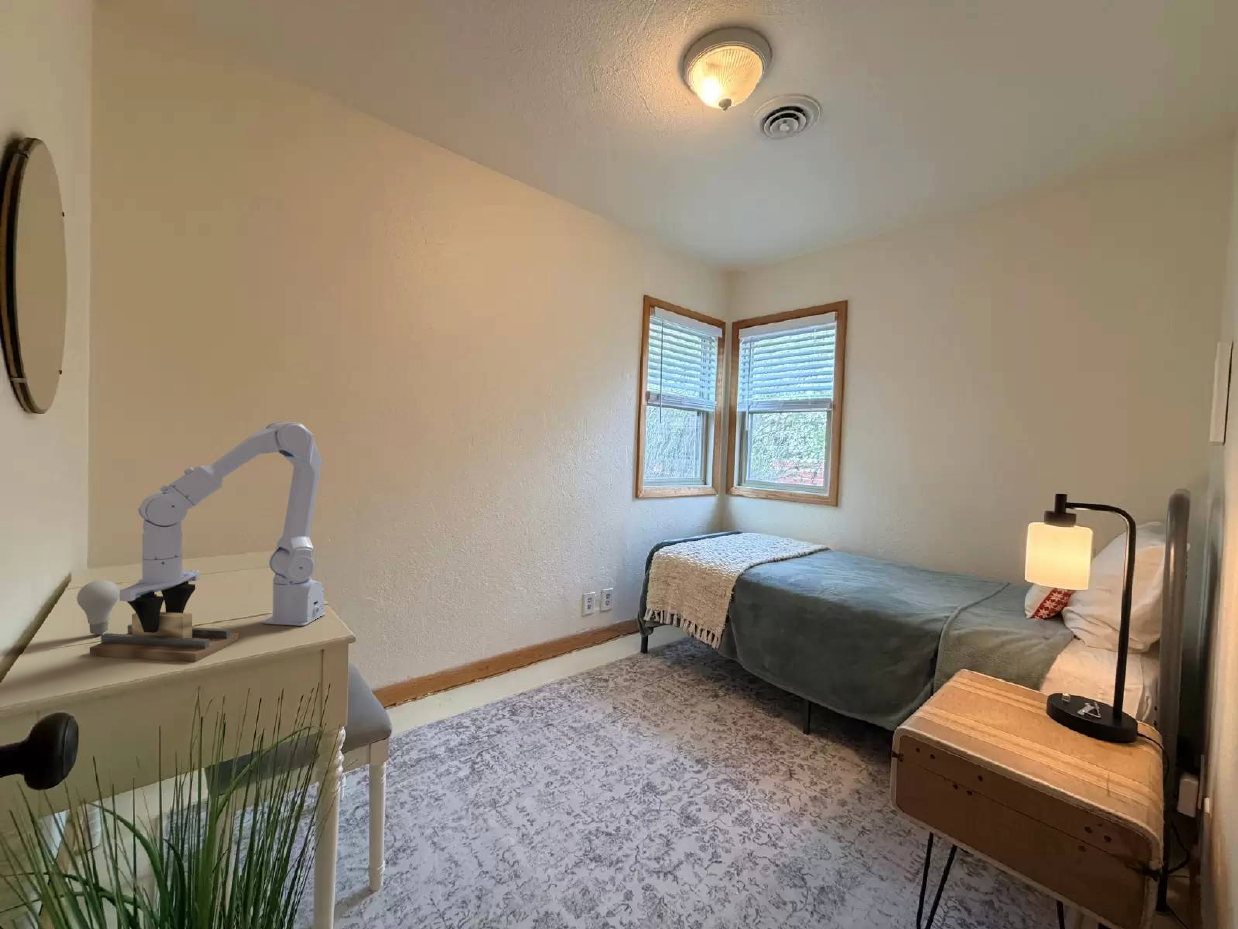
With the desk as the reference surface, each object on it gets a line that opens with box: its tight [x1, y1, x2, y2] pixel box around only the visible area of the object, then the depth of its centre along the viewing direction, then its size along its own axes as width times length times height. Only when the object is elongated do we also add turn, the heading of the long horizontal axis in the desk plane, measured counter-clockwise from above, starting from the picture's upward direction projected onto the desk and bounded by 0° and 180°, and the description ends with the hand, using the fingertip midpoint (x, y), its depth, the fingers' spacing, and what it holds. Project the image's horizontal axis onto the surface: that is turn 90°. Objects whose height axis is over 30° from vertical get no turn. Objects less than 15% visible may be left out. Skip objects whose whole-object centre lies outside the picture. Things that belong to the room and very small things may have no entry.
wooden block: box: [131, 611, 193, 638], centre depth 99 cm, size 10×2×5 cm, turn 88°
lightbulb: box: [76, 579, 121, 636], centre depth 104 cm, size 6×6×11 cm
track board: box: [89, 623, 239, 663], centre depth 99 cm, size 20×10×3 cm, turn 88°
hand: (162, 627), depth 99 cm, fingers open, 4 cm apart
